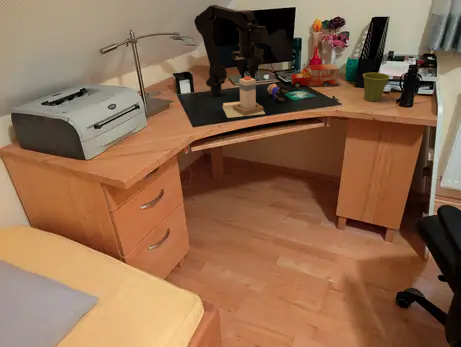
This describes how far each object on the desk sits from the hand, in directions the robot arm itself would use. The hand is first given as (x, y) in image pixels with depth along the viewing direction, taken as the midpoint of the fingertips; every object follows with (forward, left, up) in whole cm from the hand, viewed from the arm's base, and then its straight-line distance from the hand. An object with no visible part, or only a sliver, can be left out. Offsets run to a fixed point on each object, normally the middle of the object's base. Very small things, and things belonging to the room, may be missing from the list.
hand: (246, 76), depth 164 cm
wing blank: (+6, -8, -12) cm, 16 cm away
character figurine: (-2, +16, -13) cm, 21 cm away
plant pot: (+12, +59, -13) cm, 62 cm away
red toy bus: (-19, +42, -14) cm, 48 cm away
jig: (+11, -4, -13) cm, 18 cm away
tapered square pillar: (+12, -2, -12) cm, 17 cm away
